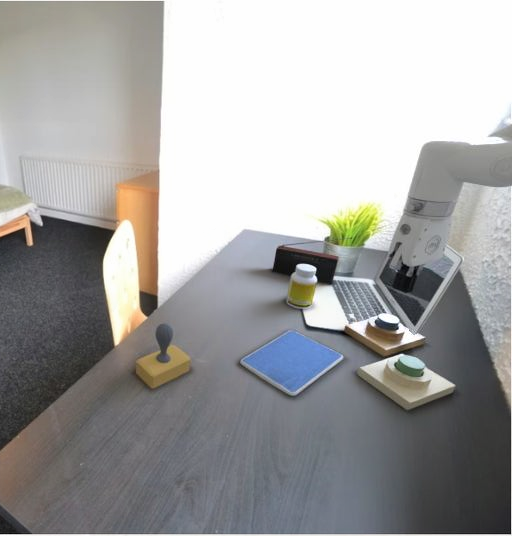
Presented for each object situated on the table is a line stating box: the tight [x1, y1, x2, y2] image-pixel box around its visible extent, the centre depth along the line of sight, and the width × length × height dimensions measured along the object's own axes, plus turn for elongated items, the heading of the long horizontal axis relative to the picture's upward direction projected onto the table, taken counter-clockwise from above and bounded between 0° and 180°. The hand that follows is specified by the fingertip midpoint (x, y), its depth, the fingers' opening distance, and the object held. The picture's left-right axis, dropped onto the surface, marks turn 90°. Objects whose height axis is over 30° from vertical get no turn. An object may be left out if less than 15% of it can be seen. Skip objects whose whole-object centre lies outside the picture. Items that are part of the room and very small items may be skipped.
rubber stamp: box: [135, 322, 191, 389], centre depth 75 cm, size 10×6×12 cm, turn 121°
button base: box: [343, 315, 426, 357], centre depth 85 cm, size 12×10×4 cm
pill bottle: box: [285, 264, 318, 310], centre depth 98 cm, size 6×6×11 cm
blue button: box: [376, 313, 401, 331], centre depth 84 cm, size 4×4×2 cm
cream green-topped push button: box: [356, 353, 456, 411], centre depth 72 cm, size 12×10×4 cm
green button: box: [396, 354, 426, 377], centre depth 71 cm, size 4×4×2 cm
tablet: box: [240, 329, 344, 397], centre depth 79 cm, size 19×13×1 cm, turn 125°
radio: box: [271, 237, 353, 286], centre depth 110 cm, size 19×3×15 cm, turn 55°
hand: (402, 289), depth 80 cm, fingers closed
